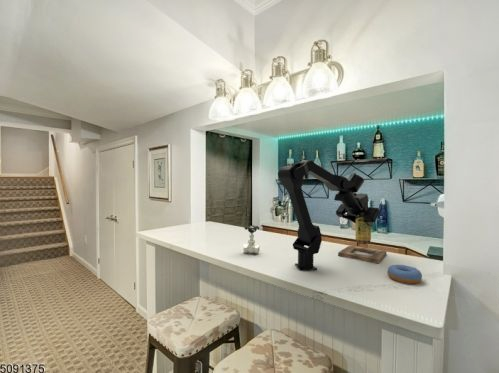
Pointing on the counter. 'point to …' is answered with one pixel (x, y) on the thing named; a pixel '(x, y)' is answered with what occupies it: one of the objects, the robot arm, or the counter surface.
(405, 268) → the doughnut
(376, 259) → the walnut board
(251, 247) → the valve
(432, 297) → the counter surface
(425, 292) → the counter surface
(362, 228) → the sauce bottle
